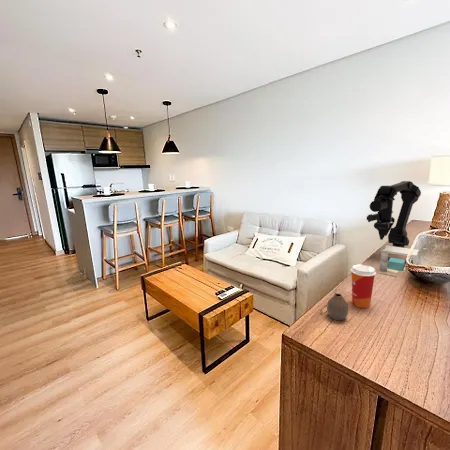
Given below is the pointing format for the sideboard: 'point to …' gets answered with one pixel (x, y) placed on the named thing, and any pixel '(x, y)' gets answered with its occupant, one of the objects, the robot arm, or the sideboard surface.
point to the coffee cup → (362, 285)
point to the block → (396, 264)
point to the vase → (337, 307)
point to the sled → (385, 264)
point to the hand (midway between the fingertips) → (383, 237)
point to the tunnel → (403, 252)
